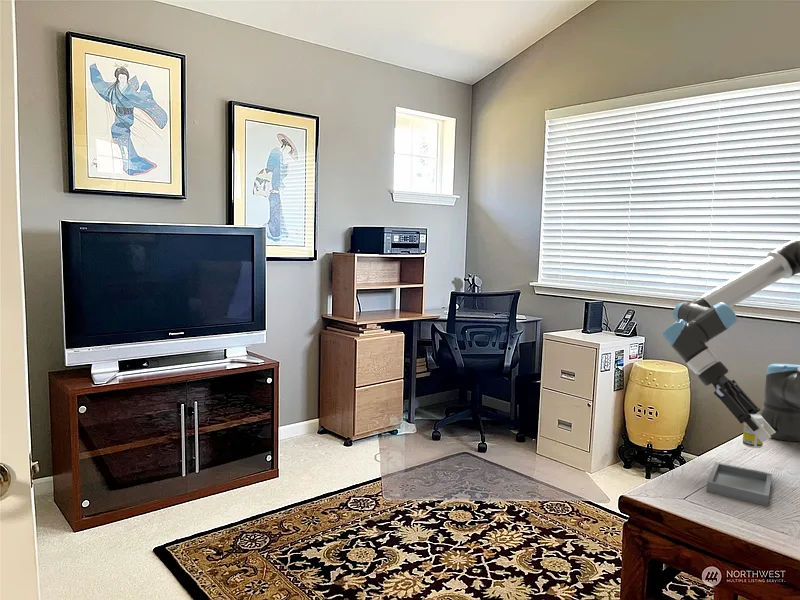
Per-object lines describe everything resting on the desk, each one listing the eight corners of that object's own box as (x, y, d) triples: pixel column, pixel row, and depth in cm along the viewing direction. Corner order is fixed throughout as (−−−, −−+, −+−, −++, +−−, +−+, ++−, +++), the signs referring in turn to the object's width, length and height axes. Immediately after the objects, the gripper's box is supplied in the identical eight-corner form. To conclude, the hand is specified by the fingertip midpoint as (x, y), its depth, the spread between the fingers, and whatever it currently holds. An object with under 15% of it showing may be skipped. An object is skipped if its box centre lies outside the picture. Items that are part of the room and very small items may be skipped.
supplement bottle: (759, 443, 166) (761, 414, 165) (764, 449, 162) (767, 419, 161) (740, 441, 167) (742, 412, 166) (745, 447, 163) (747, 417, 162)
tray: (714, 470, 160) (715, 462, 160) (770, 483, 153) (772, 474, 153) (706, 491, 147) (707, 481, 147) (767, 506, 140) (768, 495, 140)
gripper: (706, 370, 179) (764, 436, 170) (687, 380, 166) (748, 452, 157) (727, 355, 175) (788, 422, 166) (709, 365, 162) (773, 438, 153)
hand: (768, 437), depth 162 cm, fingers closed on supplement bottle, 5 cm apart
